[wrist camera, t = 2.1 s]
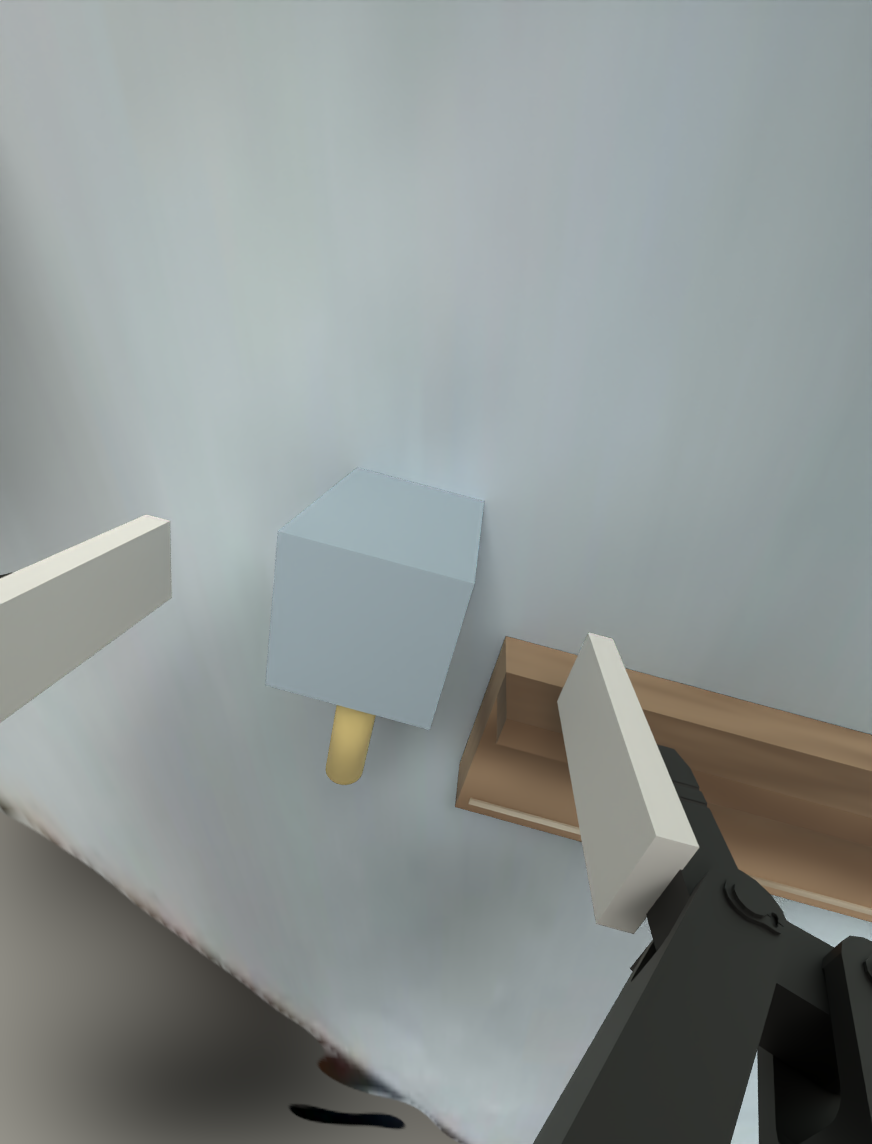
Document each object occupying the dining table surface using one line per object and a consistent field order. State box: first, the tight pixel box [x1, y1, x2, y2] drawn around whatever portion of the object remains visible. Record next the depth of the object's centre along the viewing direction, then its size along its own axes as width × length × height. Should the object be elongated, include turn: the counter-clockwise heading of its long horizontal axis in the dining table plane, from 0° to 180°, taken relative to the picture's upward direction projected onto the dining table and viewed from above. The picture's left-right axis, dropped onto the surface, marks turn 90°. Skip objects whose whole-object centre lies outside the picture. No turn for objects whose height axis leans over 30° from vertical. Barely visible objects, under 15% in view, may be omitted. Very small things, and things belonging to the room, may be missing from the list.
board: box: [455, 636, 872, 922], centre depth 19 cm, size 8×28×5 cm, turn 77°
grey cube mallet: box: [265, 467, 484, 785], centre depth 17 cm, size 10×5×7 cm, turn 167°
